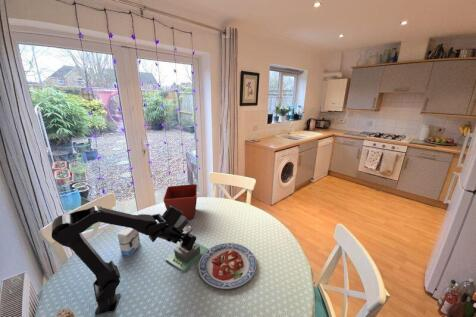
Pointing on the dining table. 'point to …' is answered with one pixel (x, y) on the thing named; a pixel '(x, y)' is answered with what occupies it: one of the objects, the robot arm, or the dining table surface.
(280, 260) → the dining table surface
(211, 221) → the dining table surface
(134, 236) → the ink box
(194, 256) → the header board
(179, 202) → the plant pot
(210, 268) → the ceramic plate
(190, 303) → the dining table surface
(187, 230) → the keyed plug
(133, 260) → the dining table surface
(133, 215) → the robot arm
